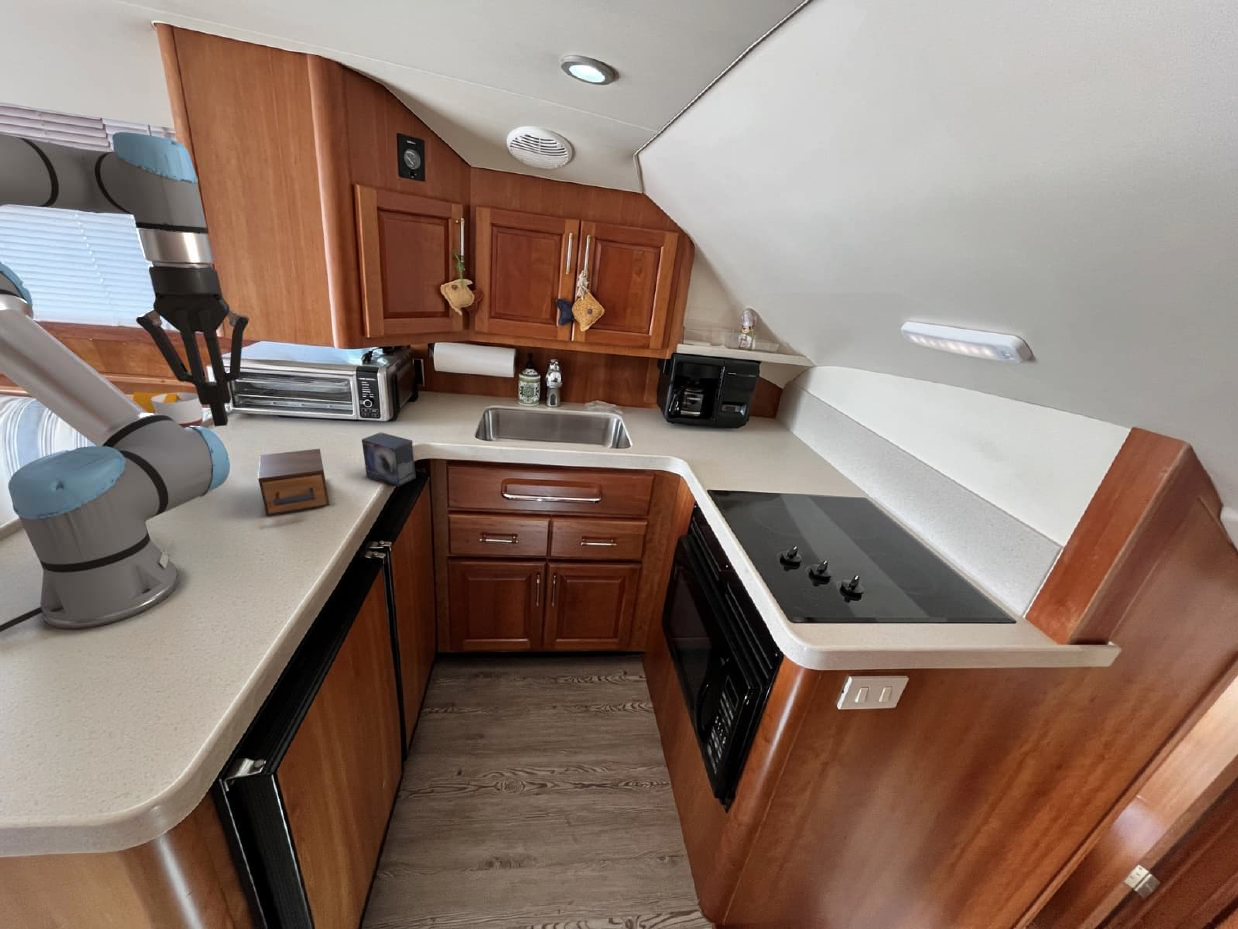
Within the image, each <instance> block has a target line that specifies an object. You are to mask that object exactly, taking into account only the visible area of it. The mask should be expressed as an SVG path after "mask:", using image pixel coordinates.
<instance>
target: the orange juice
mask: <svg viewBox="0 0 1238 929" xmlns="http://www.w3.org/2000/svg"><path fill="white" fill-rule="evenodd" d="M168 393H169V392H168ZM168 393H166V392H165V393H164V392H143V391H134V392H133V395H132V400H133V401H134V402H136V403H137V404H138V405H139V406H141V407H142V408H143V409H144V410H146V411H147V412H148V413H149V414H156V412H155V409H154V407H153V404H152V401H151V398H152V397H154V396H157V395H162V394H167V396H166V397H165V399H164V401H163V403H175V402H177V400H176V399H179V400H181V399H180V398H179V396H178V395H177V394H168Z"/></svg>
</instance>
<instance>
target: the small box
mask: <svg viewBox="0 0 1238 929" xmlns="http://www.w3.org/2000/svg"><path fill="white" fill-rule="evenodd" d="M361 444H362V446H361V447H362V452H363V453H362V454H363V459H364V460H363V461H364V466H365V473H366V478H368V479H373V480H374V481H375V480H376V481H379V482H382V483H385V484H389V485H392V486H395V487H400V486H403V485H405V484H406V483H409V482H411V481H412V480H414V479H415V480H416V478H417V476H416V467H415V459H414V458H415V457H414V448H413V440H412V439H408V438H404V437H400V436H396V435H392V434H388V433H385V432H382V431H380V432H378V433H375V434H372V435H370V436H367V437H364V438H361Z"/></svg>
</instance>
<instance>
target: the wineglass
mask: <svg viewBox="0 0 1238 929" xmlns="http://www.w3.org/2000/svg"><path fill="white" fill-rule="evenodd" d="M168 394H177V395H178V396H179V398H180V399H181V400H179V399H176V400H177V402H175V403H163V401H164V399H165V397H166V396H167V394H162V395H157V396H154V397H152V398H151V401H152V404H153V407H154V409H155V412H156V414H164V415H167V416H169V417H170V418H171V419H173V420H174V421H175V422H176V423H178V424H179V425H180V426H181V427H183V428H186V427H188V426H198V427H199V426H202V425H203V421H204V420H203V419H204V410H203V405H202V404H201V403H200V402H199V398H198V394H197V393H195V392H184V391H183V392H182V391H181V392H168Z"/></svg>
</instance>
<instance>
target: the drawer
mask: <svg viewBox="0 0 1238 929" xmlns="http://www.w3.org/2000/svg"><path fill="white" fill-rule="evenodd" d="M262 485H263V490H264V494H265V498H266V503H267V507H268V512H269V514H270V513H276V512H282V511H288V510H294V509H301V508H307V507H313V506H319V505H325V504H326V500H325V494H324V488H323V483H322V477H321V474H320V475H318V474H315V475H308V476H305V477H298V478H290V479H278V480H270V481H267V482H263V483H262Z"/></svg>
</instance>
